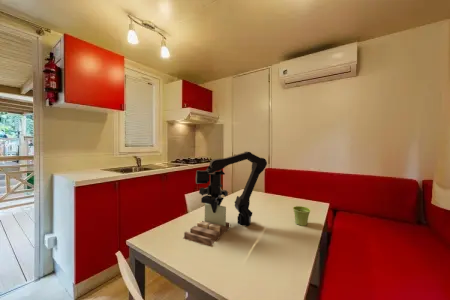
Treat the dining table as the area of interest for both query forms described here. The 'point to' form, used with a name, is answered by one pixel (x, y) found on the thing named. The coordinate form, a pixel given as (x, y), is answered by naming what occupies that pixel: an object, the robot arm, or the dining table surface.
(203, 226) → the offcut
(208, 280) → the dining table surface
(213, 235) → the rack
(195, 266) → the dining table surface
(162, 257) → the dining table surface
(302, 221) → the plant pot
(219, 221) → the sheet
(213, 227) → the offcut
